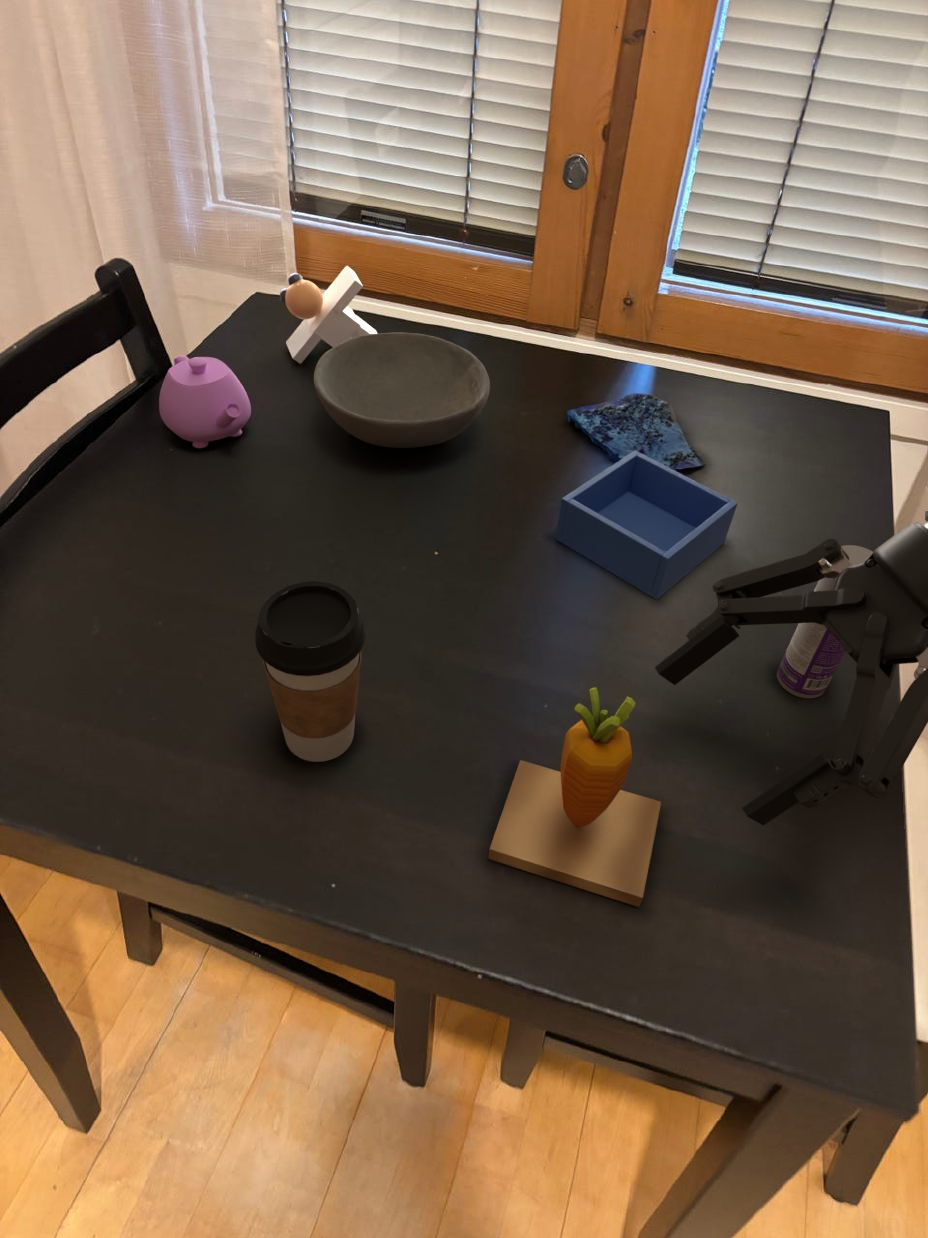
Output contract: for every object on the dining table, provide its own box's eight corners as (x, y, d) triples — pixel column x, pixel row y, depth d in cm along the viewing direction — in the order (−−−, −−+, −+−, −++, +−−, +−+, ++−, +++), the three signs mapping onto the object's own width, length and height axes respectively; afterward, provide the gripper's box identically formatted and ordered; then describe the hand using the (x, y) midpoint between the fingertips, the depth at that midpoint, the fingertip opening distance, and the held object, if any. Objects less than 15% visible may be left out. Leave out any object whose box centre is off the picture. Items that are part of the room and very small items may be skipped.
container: (829, 672, 85) (890, 554, 75) (822, 705, 82) (885, 587, 72) (781, 656, 87) (835, 537, 76) (772, 688, 84) (827, 569, 73)
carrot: (538, 837, 69) (564, 715, 58) (558, 789, 72) (586, 665, 62) (598, 861, 68) (636, 740, 57) (616, 811, 71) (655, 688, 60)
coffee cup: (252, 757, 74) (230, 633, 64) (297, 687, 80) (283, 562, 70) (344, 787, 73) (336, 664, 62) (383, 712, 79) (381, 589, 68)
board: (657, 812, 73) (661, 801, 72) (639, 907, 67) (643, 898, 66) (518, 770, 75) (520, 759, 74) (487, 859, 69) (489, 849, 68)
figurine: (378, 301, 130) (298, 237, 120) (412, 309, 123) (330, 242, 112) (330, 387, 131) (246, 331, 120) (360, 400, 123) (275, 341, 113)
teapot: (222, 394, 115) (211, 326, 109) (280, 448, 107) (273, 378, 101) (146, 417, 110) (130, 348, 104) (201, 476, 102) (188, 405, 96)
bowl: (485, 391, 119) (490, 336, 114) (485, 482, 105) (490, 424, 99) (329, 382, 119) (326, 326, 113) (306, 472, 104) (301, 412, 98)
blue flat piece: (660, 399, 120) (662, 386, 119) (717, 472, 109) (721, 459, 108) (559, 411, 117) (560, 398, 116) (607, 487, 106) (610, 474, 104)
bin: (724, 542, 99) (738, 502, 95) (656, 600, 92) (668, 559, 88) (626, 489, 105) (635, 449, 101) (554, 538, 98) (561, 498, 94)
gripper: (1110, 715, 54) (818, 898, 60) (863, 480, 70) (655, 644, 77) (1091, 672, 49) (775, 878, 55) (830, 430, 65) (611, 610, 72)
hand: (705, 742), depth 66 cm, fingers open, 13 cm apart
